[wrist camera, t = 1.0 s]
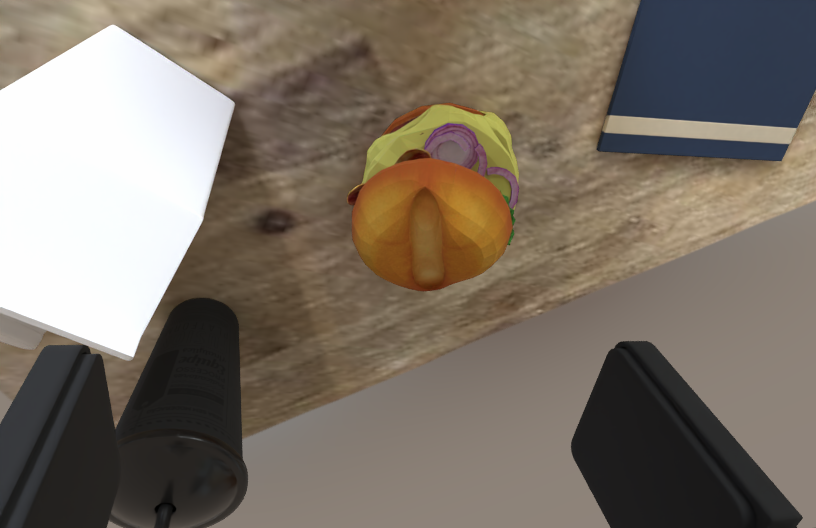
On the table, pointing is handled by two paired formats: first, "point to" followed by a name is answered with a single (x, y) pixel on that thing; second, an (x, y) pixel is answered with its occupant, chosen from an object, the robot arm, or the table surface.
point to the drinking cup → (184, 425)
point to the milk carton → (101, 189)
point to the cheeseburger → (436, 197)
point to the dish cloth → (714, 79)
